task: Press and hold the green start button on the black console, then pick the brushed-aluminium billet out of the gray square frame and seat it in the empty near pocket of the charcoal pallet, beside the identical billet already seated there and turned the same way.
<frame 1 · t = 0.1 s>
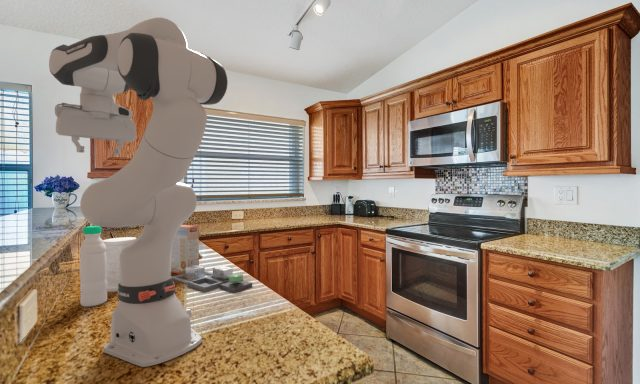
hand: (99, 153, 96), 48 cm above the counter, tool pointing down, fingers open, 8 cm apart
water bottle: (94, 303, 101), on the counter
console: (236, 290, 112), on the counter
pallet: (214, 286, 117), on the counter
cracker box: (184, 273, 136), on the counter
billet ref: (222, 280, 120), point 1 cm above the counter, touching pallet
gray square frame: (195, 280, 125), on the counter
decorative container: (120, 287, 118), on the counter
button: (236, 281, 112), point 3 cm above the counter, slide at 0.0 cm
billet: (195, 279, 125), resting on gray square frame
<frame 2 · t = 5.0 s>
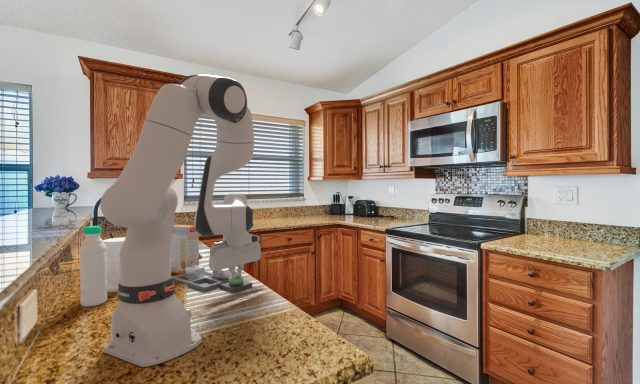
hand: (236, 277, 112), 5 cm above the counter, tool pointing down, fingers closed, pressing on button
button: (236, 283, 112), point 3 cm above the counter, slide at -0.7 cm, touching gripper
everything else where it was.
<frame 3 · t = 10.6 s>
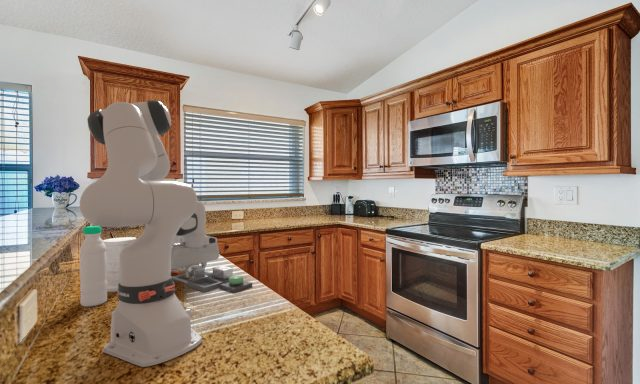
hand: (195, 275, 125), 2 cm above the counter, tool pointing down, fingers closed on billet, 4 cm apart
button: (236, 283, 112), point 3 cm above the counter, slide at -0.6 cm
billet: (195, 279, 125), point 1 cm above the counter, touching gripper, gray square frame
everything else where it was.
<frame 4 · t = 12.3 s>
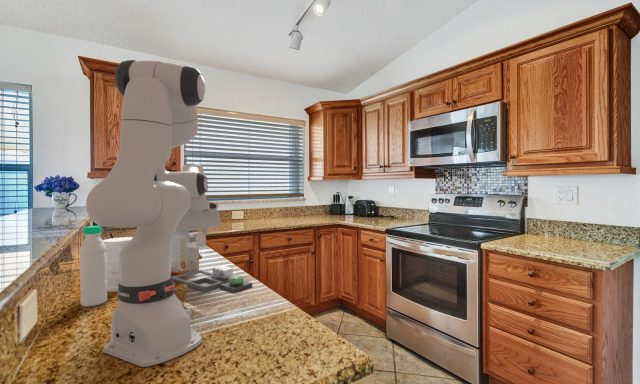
hand: (196, 241, 122), 16 cm above the counter, tool pointing down, fingers closed on billet, 4 cm apart
billet: (196, 246, 122), point 14 cm above the counter, touching gripper
everything else where it was.
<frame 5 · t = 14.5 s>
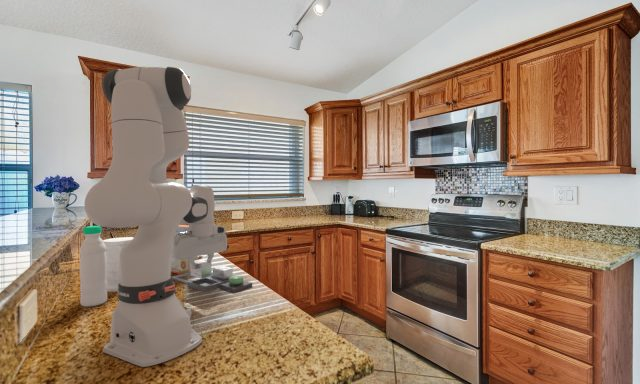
hand: (201, 267, 114), 8 cm above the counter, tool pointing down, fingers closed on billet, 4 cm apart
billet: (201, 275, 114), point 5 cm above the counter, touching gripper
everything else where it was.
when the fingers open (4 cm above the counter, at t = 15.6 s): billet stays where it is, resting on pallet.
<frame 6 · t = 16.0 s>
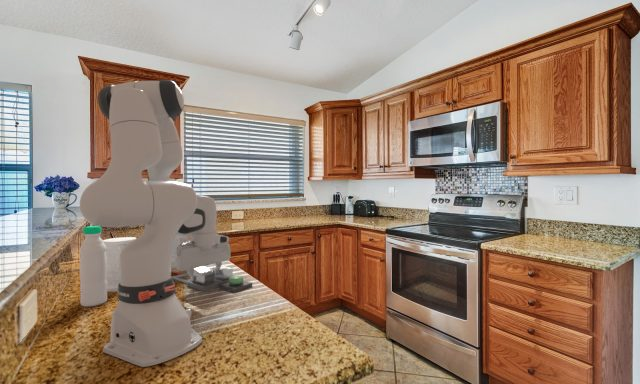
hand: (204, 277, 114), 4 cm above the counter, tool pointing down, fingers open, 8 cm apart
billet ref: (222, 280, 120), point 1 cm above the counter, touching gripper, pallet
billet: (203, 283, 114), point 2 cm above the counter, tilted 12°, touching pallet
everything else where it was.
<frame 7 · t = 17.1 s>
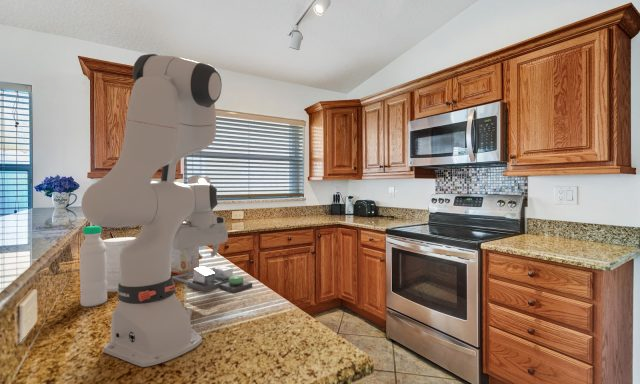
hand: (202, 258, 113), 11 cm above the counter, tool pointing down, fingers open, 8 cm apart
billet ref: (222, 280, 120), point 1 cm above the counter, touching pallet
everything else where it was.
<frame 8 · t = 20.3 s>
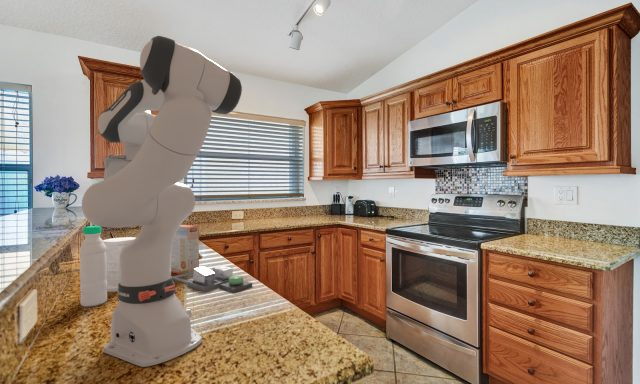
hand: (139, 197, 106), 34 cm above the counter, tool pointing down, fingers open, 8 cm apart
nothing on the counter moved.
at the end: billet 1.1 cm from the target spot on the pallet, point 2.0 cm above the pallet's base; billet tilted 12°; the gripper is holding nothing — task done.
